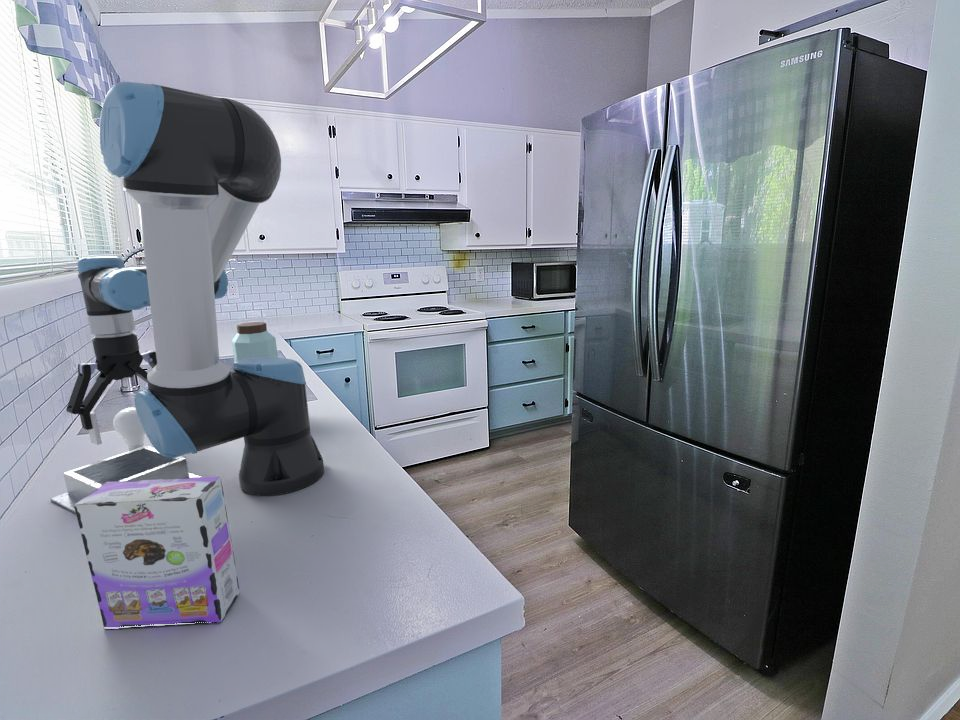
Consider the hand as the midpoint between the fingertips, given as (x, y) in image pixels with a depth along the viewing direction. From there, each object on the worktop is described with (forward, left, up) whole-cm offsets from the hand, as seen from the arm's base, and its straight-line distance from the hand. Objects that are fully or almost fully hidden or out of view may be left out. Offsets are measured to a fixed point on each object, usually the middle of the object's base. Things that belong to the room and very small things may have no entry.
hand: (132, 432), depth 109 cm
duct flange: (-16, +9, -6) cm, 20 cm away
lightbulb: (0, 0, -6) cm, 6 cm away
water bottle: (-6, -27, -6) cm, 28 cm away
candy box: (-56, +23, -6) cm, 61 cm away
